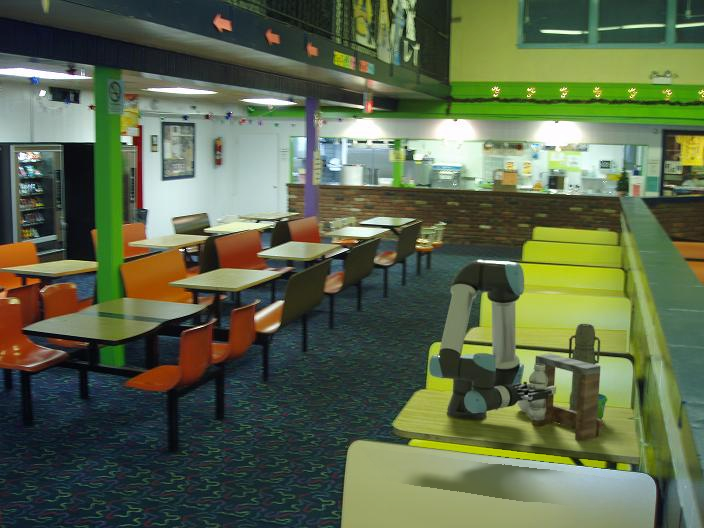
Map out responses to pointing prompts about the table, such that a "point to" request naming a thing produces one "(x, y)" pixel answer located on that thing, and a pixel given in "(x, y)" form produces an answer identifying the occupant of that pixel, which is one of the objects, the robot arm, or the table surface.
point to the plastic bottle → (536, 383)
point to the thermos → (582, 355)
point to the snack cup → (601, 405)
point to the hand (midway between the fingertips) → (547, 387)
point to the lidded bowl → (523, 405)
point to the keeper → (586, 400)
